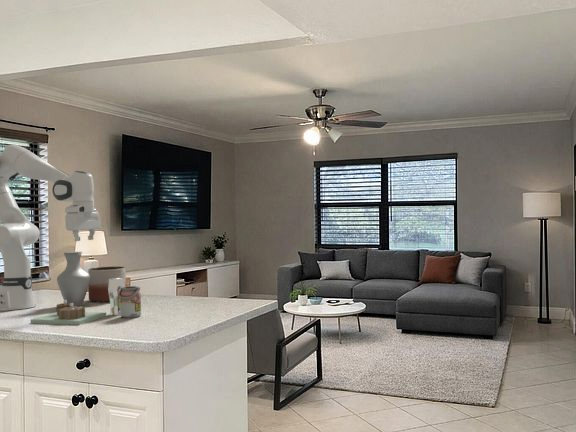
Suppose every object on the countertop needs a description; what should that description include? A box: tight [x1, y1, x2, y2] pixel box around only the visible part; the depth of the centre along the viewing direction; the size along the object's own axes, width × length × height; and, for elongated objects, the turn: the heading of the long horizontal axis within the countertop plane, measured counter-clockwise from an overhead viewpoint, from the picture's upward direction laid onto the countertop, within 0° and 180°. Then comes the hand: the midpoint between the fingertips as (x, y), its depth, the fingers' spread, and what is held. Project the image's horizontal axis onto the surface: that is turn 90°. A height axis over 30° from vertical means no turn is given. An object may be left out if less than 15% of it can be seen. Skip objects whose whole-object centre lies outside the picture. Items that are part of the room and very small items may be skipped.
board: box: [30, 300, 107, 326], centre depth 228 cm, size 22×18×7 cm
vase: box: [56, 251, 90, 307], centre depth 263 cm, size 14×14×25 cm
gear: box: [56, 302, 70, 315], centre depth 232 cm, size 6×6×4 cm
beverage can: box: [118, 285, 142, 319], centre depth 231 cm, size 9×8×12 cm
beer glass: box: [108, 278, 125, 316], centre depth 238 cm, size 7×7×15 cm
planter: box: [87, 265, 127, 303], centre depth 279 cm, size 18×18×16 cm
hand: (84, 240), depth 245 cm, fingers open, 8 cm apart
